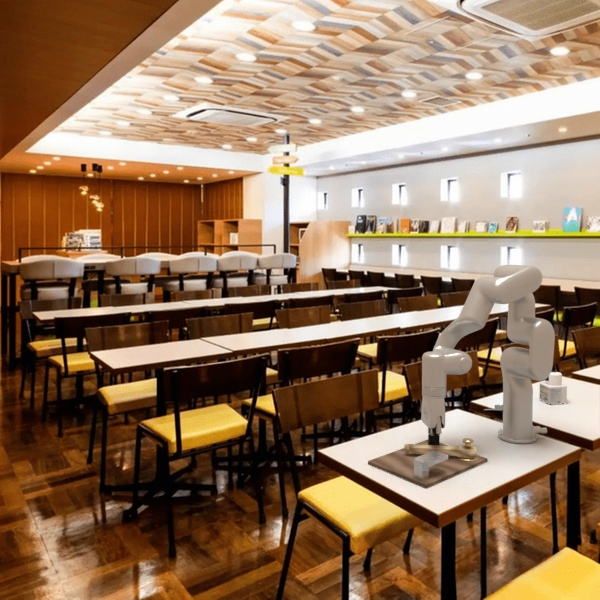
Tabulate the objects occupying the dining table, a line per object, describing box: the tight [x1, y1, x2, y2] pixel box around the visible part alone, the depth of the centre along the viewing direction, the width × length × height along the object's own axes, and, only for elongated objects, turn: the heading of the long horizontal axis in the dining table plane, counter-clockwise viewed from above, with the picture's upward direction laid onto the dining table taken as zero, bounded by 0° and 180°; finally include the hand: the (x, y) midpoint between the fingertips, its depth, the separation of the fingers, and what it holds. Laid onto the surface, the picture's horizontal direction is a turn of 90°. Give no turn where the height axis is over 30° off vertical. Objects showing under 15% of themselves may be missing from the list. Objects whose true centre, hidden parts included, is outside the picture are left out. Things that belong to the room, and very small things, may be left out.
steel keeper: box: [414, 450, 448, 480], centre depth 162 cm, size 10×5×5 cm, turn 128°
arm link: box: [403, 443, 477, 458], centre depth 174 cm, size 22×5×2 cm, turn 78°
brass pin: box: [457, 437, 479, 462], centre depth 173 cm, size 6×6×6 cm
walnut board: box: [367, 439, 488, 489], centre depth 172 cm, size 29×23×1 cm
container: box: [539, 370, 568, 405], centre depth 232 cm, size 8×8×13 cm
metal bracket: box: [483, 404, 503, 411], centre depth 218 cm, size 14×6×15 cm
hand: (433, 446), depth 178 cm, fingers closed
